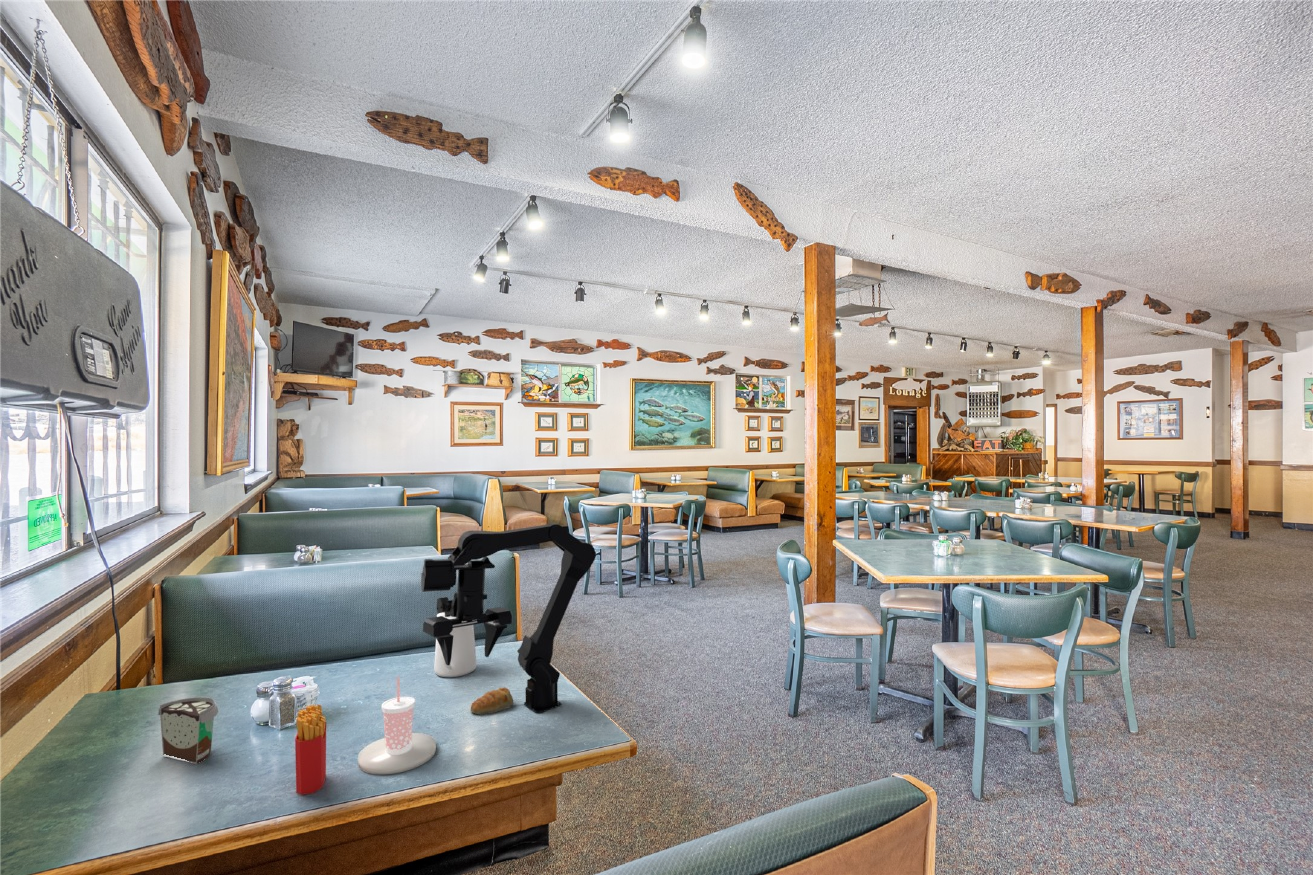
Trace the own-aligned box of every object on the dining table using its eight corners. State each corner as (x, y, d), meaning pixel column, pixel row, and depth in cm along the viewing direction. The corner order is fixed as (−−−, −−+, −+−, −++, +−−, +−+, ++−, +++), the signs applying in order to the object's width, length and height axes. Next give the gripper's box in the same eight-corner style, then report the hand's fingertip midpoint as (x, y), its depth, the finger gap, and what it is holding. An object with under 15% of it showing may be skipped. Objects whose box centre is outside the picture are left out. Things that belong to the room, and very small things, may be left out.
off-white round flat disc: (421, 732, 131) (421, 726, 131) (447, 757, 120) (447, 750, 120) (349, 754, 122) (349, 747, 122) (370, 783, 111) (370, 776, 111)
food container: (233, 750, 124) (233, 700, 124) (202, 765, 118) (202, 712, 118) (190, 741, 128) (190, 692, 128) (157, 755, 122) (157, 704, 123)
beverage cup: (385, 743, 124) (385, 672, 124) (418, 740, 125) (417, 670, 125) (377, 758, 118) (377, 684, 118) (412, 755, 119) (411, 681, 119)
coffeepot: (484, 654, 181) (483, 589, 181) (467, 687, 156) (467, 611, 156) (445, 656, 179) (445, 590, 180) (422, 689, 154) (422, 613, 155)
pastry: (480, 719, 137) (480, 702, 137) (464, 711, 142) (463, 695, 142) (516, 706, 144) (515, 689, 144) (499, 699, 149) (499, 683, 149)
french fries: (320, 794, 108) (320, 718, 108) (292, 799, 106) (292, 722, 107) (328, 768, 116) (328, 698, 117) (303, 772, 115) (302, 702, 115)
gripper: (490, 578, 149) (487, 644, 149) (413, 587, 136) (410, 659, 136) (515, 586, 141) (512, 656, 141) (436, 596, 128) (432, 673, 128)
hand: (467, 660), depth 136 cm, fingers open, 9 cm apart
